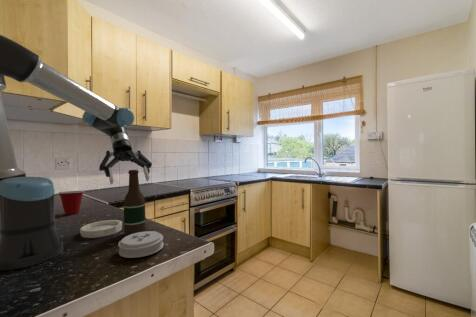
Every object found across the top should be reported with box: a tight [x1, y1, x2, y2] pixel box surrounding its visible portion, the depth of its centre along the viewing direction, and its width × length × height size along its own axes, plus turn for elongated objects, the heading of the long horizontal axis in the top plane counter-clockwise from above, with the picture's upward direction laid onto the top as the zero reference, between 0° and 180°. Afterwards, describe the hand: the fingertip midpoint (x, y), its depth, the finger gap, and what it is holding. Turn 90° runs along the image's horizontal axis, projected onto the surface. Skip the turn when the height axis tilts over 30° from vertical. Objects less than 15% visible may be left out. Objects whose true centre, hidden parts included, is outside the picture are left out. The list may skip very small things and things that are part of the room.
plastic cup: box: [58, 190, 85, 216], centre depth 115 cm, size 11×11×12 cm
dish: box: [79, 219, 123, 239], centre depth 86 cm, size 14×14×2 cm
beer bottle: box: [123, 169, 147, 237], centre depth 83 cm, size 8×8×24 cm
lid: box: [117, 230, 164, 259], centre depth 68 cm, size 13×13×5 cm
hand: (130, 180), depth 90 cm, fingers open, 13 cm apart
